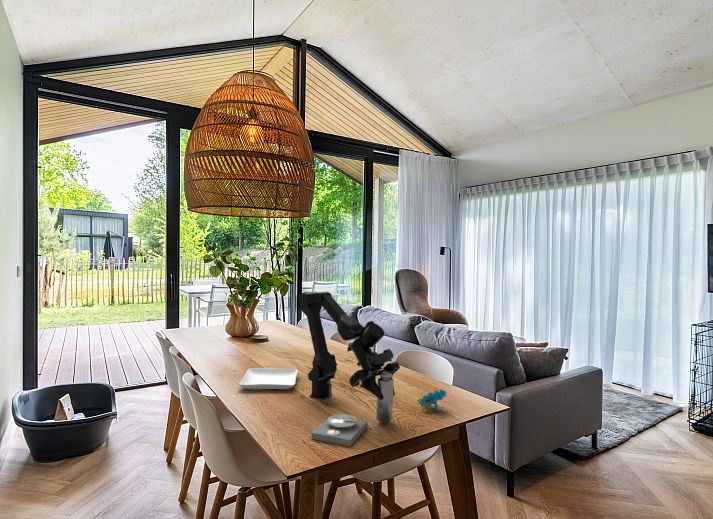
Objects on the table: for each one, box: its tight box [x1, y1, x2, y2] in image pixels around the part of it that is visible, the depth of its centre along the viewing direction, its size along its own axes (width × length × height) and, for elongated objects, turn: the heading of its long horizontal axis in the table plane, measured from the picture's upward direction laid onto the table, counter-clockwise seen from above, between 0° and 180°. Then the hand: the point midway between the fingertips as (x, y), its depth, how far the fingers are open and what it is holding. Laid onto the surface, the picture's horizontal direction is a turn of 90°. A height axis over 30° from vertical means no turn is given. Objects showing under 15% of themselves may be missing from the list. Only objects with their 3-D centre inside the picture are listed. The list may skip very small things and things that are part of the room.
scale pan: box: [326, 413, 358, 428], centre depth 130 cm, size 9×9×1 cm
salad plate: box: [238, 367, 299, 390], centre depth 174 cm, size 21×21×3 cm
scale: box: [310, 414, 368, 447], centre depth 129 cm, size 12×14×2 cm
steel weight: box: [375, 372, 395, 423], centre depth 137 cm, size 5×5×14 cm
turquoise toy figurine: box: [416, 389, 447, 413], centre depth 149 cm, size 11×6×10 cm
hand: (388, 397), depth 136 cm, fingers closed on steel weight, 5 cm apart
